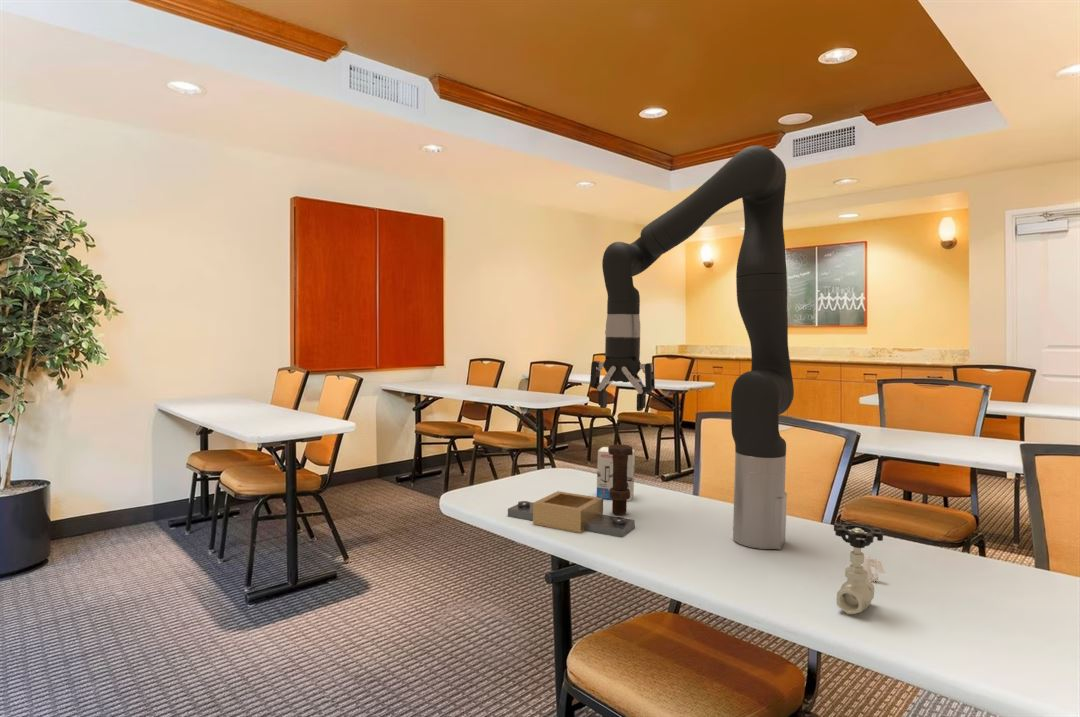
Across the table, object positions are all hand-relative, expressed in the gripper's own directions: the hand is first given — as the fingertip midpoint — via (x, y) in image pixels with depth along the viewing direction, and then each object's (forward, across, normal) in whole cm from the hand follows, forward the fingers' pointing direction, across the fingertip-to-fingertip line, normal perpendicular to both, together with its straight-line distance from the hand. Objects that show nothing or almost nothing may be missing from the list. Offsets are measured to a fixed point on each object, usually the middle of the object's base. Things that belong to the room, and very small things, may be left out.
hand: (621, 409), depth 137 cm
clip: (+23, -49, +13) cm, 56 cm away
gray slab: (+23, +16, +11) cm, 30 cm away
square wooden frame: (+23, +7, +11) cm, 27 cm away
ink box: (+24, +6, -12) cm, 27 cm away
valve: (+23, -48, +26) cm, 59 cm away
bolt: (+23, 0, 0) cm, 23 cm away
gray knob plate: (+23, -2, +11) cm, 26 cm away
